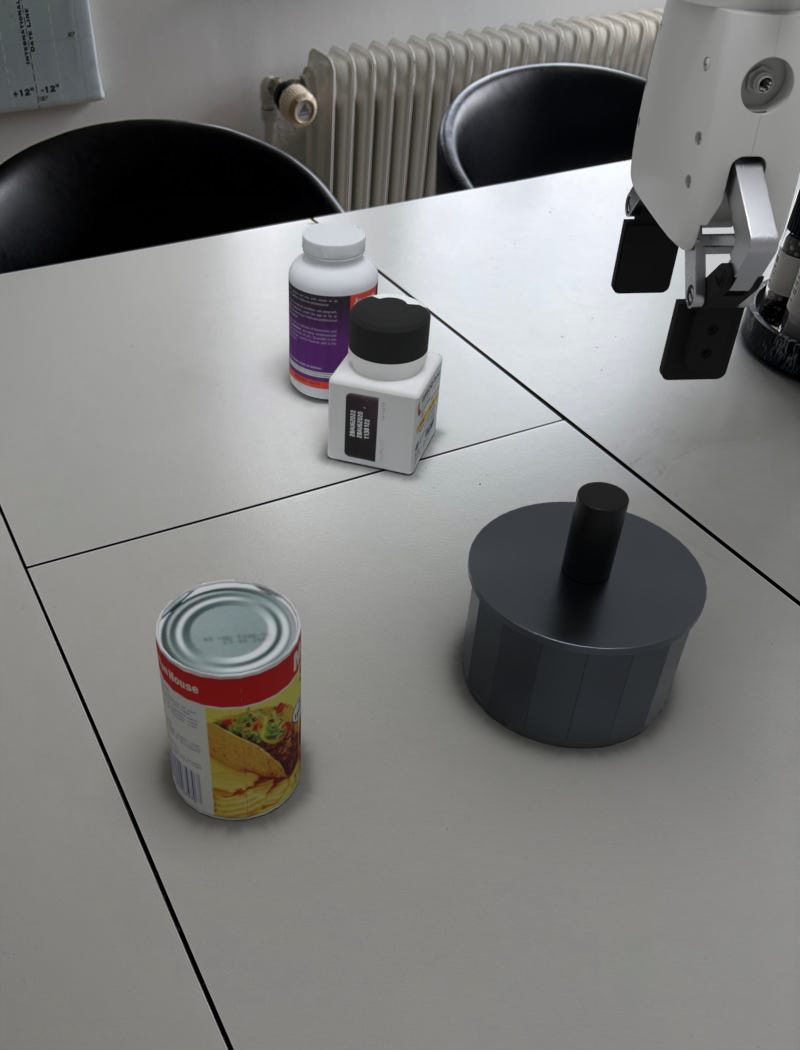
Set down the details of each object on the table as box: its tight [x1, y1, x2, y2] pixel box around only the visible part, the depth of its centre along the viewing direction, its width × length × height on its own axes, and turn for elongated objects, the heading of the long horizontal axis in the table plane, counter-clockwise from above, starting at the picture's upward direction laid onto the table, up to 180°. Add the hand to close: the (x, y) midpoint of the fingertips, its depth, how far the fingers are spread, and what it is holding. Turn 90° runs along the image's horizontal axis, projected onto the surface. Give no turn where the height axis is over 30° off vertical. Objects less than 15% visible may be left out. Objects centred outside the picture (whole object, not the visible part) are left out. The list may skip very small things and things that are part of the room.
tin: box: [461, 587, 691, 749], centre depth 68 cm, size 14×14×8 cm
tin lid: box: [466, 481, 708, 656], centre depth 63 cm, size 15×15×7 cm
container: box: [327, 293, 443, 475], centre depth 87 cm, size 8×8×13 cm
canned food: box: [154, 578, 302, 821], centre depth 60 cm, size 8×8×12 cm
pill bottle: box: [288, 221, 379, 401], centre depth 95 cm, size 8×8×14 cm
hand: (663, 331), depth 55 cm, fingers open, 9 cm apart
